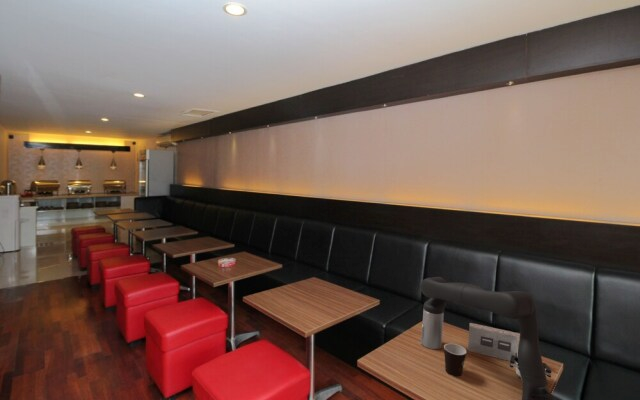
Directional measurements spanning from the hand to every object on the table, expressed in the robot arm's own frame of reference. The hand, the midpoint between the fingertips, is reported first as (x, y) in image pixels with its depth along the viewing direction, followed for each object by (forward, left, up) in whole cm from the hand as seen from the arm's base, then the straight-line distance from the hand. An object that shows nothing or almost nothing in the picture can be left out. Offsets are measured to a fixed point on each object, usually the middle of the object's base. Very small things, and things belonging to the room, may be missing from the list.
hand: (526, 356), depth 129 cm
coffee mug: (-26, -13, -8) cm, 30 cm away
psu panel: (-11, +9, -8) cm, 16 cm away
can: (0, -3, -7) cm, 8 cm away
